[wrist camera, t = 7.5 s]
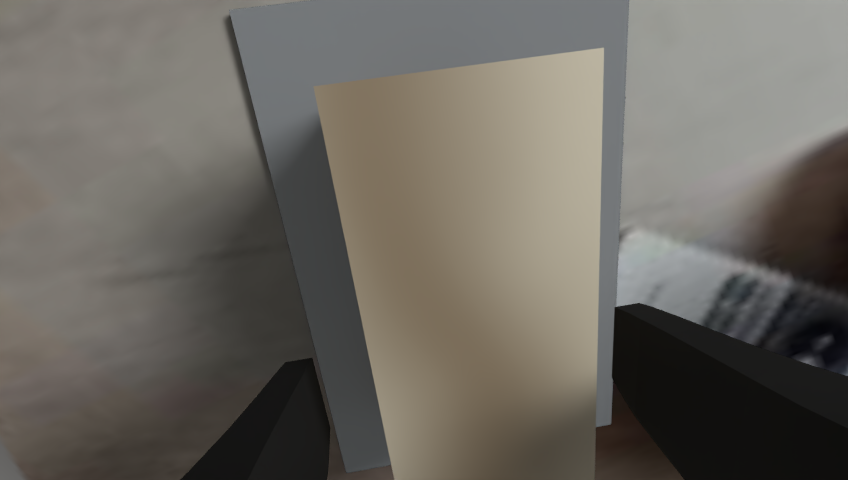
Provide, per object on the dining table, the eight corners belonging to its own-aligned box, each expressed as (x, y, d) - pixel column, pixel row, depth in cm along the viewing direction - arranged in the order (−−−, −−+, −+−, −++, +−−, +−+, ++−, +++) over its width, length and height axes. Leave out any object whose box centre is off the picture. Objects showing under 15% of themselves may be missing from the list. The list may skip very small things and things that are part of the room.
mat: (624, -35, 13) (631, -38, 13) (607, 419, 19) (611, 424, 19) (232, 12, 12) (228, 10, 12) (346, 467, 19) (346, 473, 18)
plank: (507, 65, 10) (604, 47, 6) (528, 468, 14) (591, 623, 10) (340, 88, 10) (313, 86, 6) (414, 490, 14) (431, 658, 10)
